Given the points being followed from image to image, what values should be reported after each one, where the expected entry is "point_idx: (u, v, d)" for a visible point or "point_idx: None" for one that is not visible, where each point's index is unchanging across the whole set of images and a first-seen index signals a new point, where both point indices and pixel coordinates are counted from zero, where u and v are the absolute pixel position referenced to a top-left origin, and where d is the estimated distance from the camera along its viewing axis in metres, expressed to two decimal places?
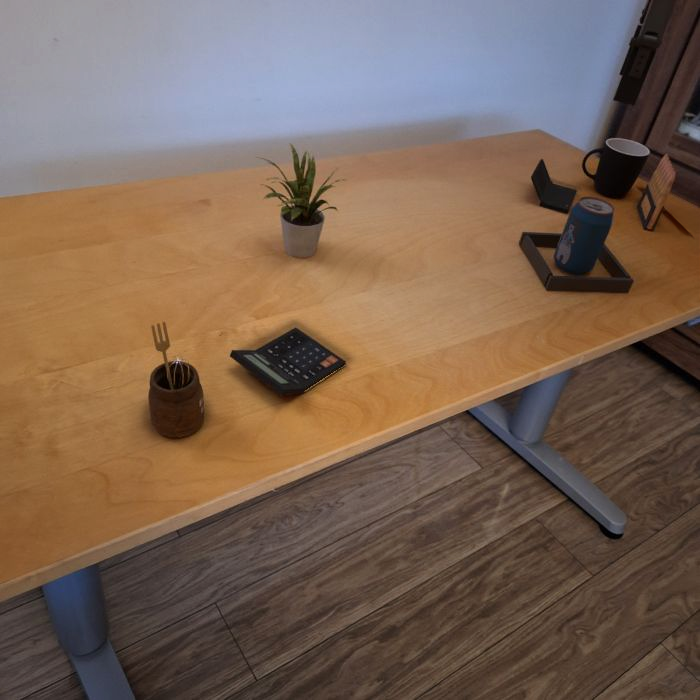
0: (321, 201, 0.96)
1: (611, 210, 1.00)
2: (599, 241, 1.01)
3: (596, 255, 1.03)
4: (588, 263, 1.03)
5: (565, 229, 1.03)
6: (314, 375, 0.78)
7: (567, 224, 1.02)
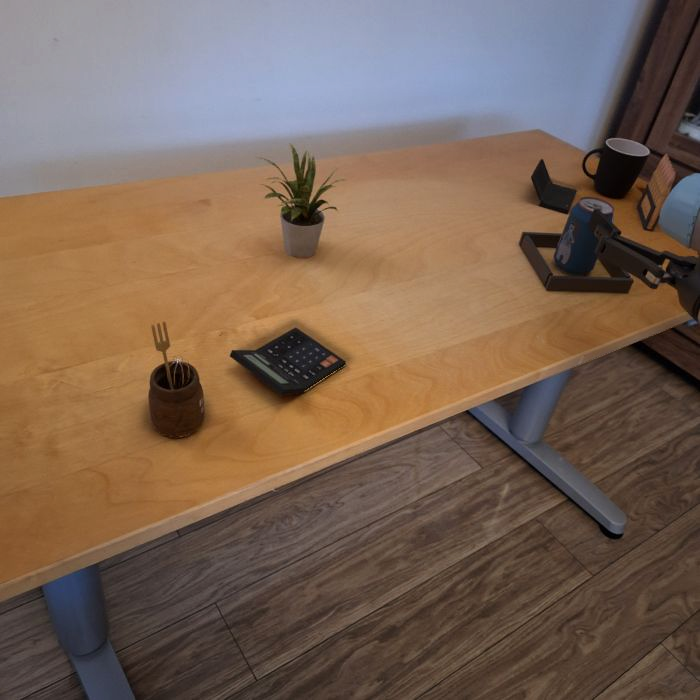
0: (321, 201, 0.96)
1: (611, 210, 1.00)
2: None
3: (596, 255, 1.03)
4: (588, 263, 1.03)
5: (565, 229, 1.03)
6: (314, 375, 0.78)
7: (567, 224, 1.02)
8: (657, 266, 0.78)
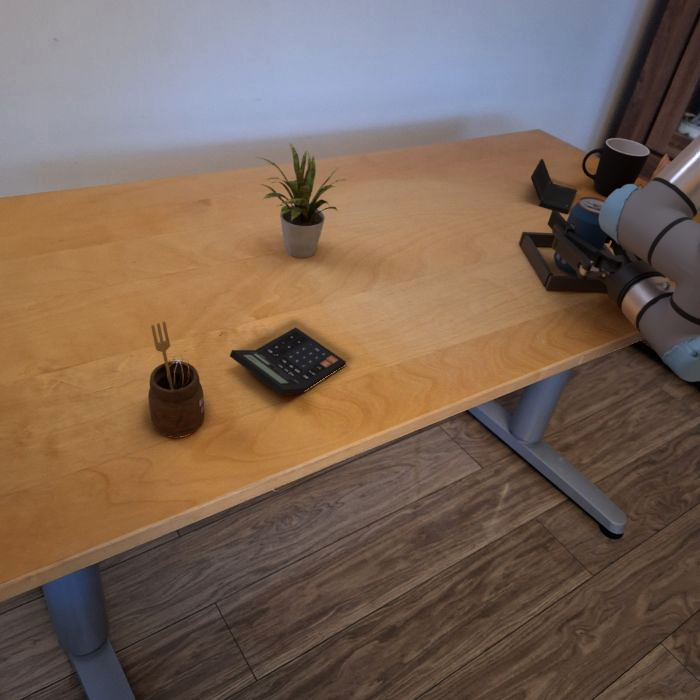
0: (321, 201, 0.96)
1: None
2: (599, 241, 1.01)
3: None
4: None
5: None
6: (314, 375, 0.78)
7: None
8: (588, 261, 0.93)
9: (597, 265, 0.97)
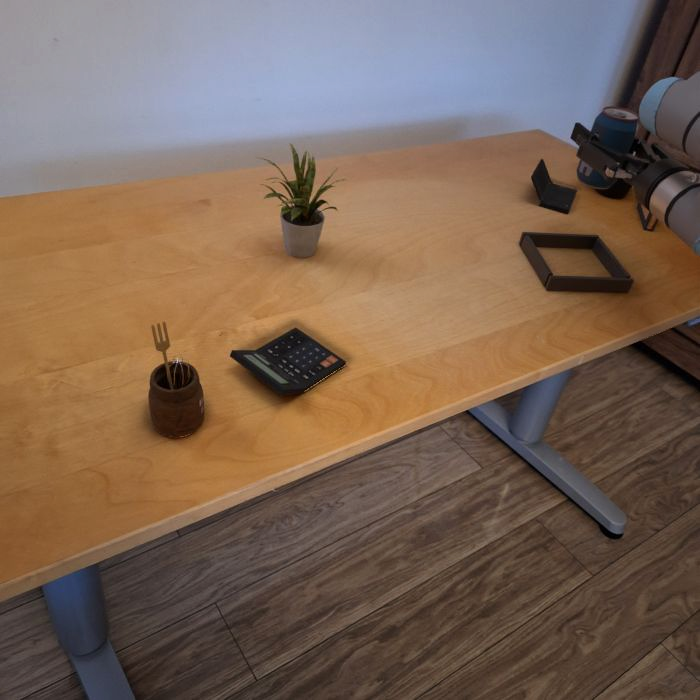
0: (321, 201, 0.96)
1: (636, 118, 0.99)
2: (623, 150, 1.00)
3: None
4: None
5: None
6: (314, 375, 0.78)
7: None
8: (615, 162, 0.93)
9: None
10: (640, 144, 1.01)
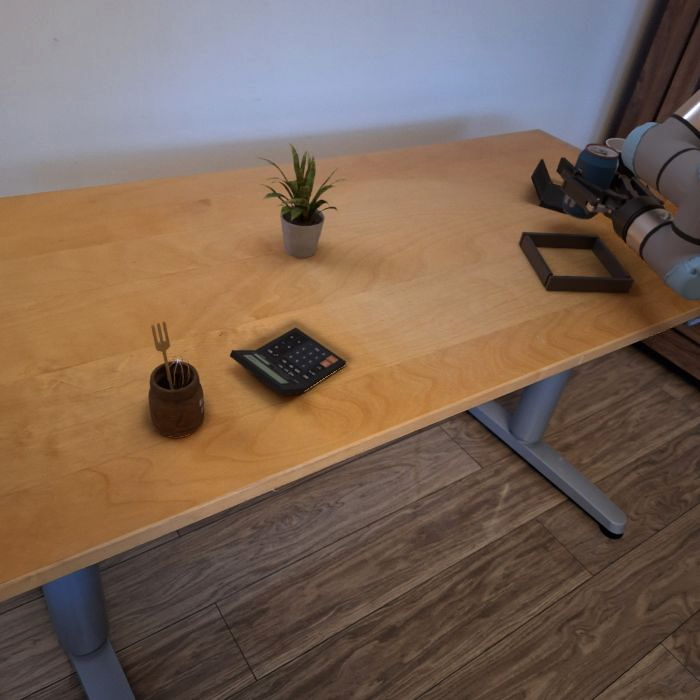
0: (321, 201, 0.96)
1: (616, 155, 1.07)
2: (604, 184, 1.08)
3: None
4: None
5: None
6: (314, 375, 0.78)
7: None
8: (595, 198, 1.01)
9: (603, 204, 1.04)
10: (620, 179, 1.09)
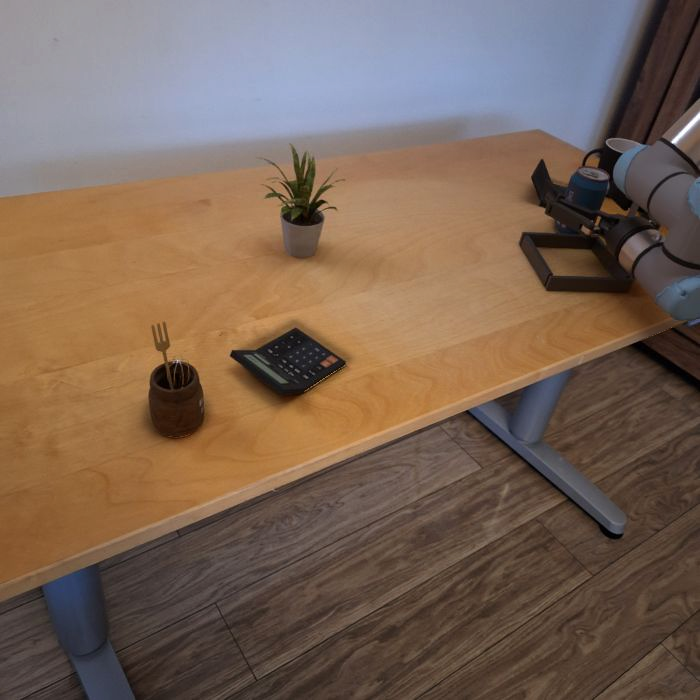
0: (321, 201, 0.96)
1: (607, 177, 1.10)
2: (595, 206, 1.11)
3: None
4: None
5: (565, 195, 1.13)
6: (314, 375, 0.78)
7: (567, 191, 1.12)
8: (589, 221, 1.02)
9: None
10: (634, 202, 1.10)
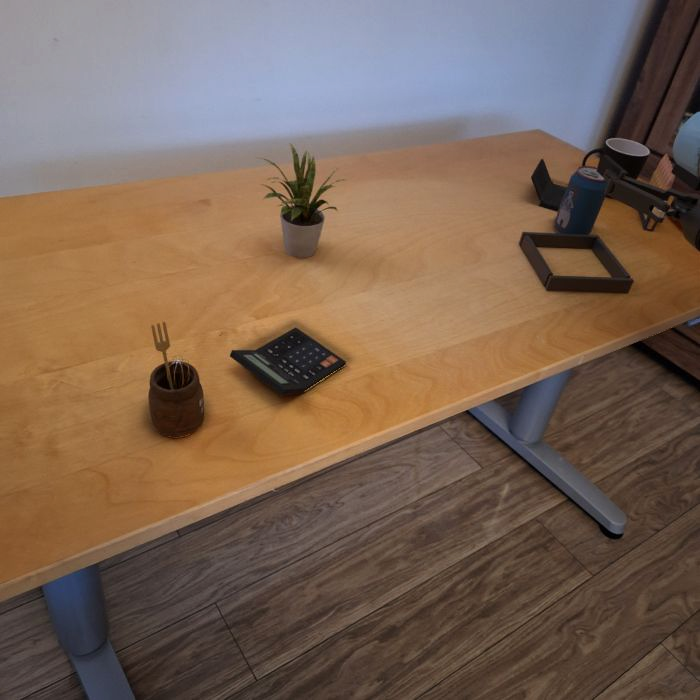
0: (321, 201, 0.96)
1: None
2: (595, 206, 1.11)
3: (593, 219, 1.13)
4: (585, 227, 1.13)
5: (565, 195, 1.13)
6: (314, 375, 0.78)
7: (567, 191, 1.12)
8: (662, 201, 0.85)
9: None
10: None
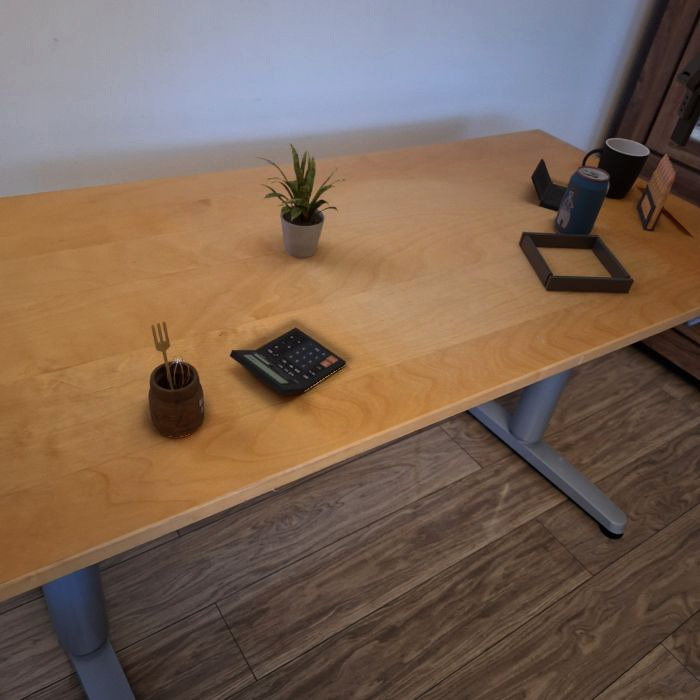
0: (321, 201, 0.96)
1: (607, 177, 1.10)
2: (595, 206, 1.11)
3: (593, 219, 1.13)
4: (585, 227, 1.13)
5: (565, 195, 1.13)
6: (314, 375, 0.78)
7: (567, 191, 1.12)
8: None
9: None
10: None
